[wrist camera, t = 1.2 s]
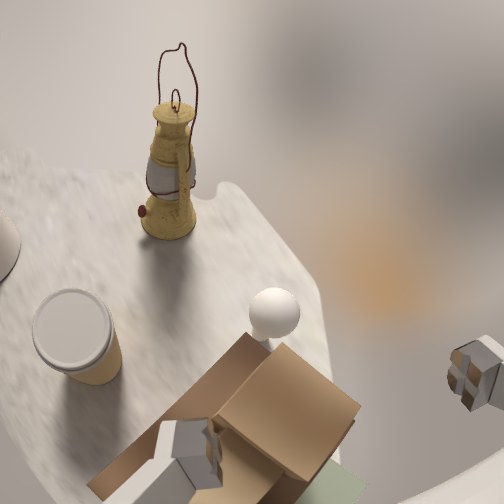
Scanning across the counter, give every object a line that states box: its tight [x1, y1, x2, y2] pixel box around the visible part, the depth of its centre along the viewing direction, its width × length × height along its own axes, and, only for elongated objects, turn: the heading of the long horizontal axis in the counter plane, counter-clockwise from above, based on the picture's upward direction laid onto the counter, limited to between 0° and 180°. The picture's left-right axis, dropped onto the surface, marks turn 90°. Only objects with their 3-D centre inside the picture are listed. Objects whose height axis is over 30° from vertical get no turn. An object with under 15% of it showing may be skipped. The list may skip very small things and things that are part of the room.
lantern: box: [138, 43, 198, 240], centre depth 40 cm, size 12×10×30 cm
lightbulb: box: [249, 288, 300, 341], centre depth 40 cm, size 6×6×11 cm
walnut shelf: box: [86, 332, 355, 504], centre depth 23 cm, size 12×8×26 cm, turn 141°
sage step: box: [294, 458, 368, 504], centre depth 26 cm, size 12×9×16 cm
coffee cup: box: [32, 288, 122, 385], centre depth 33 cm, size 9×9×12 cm
